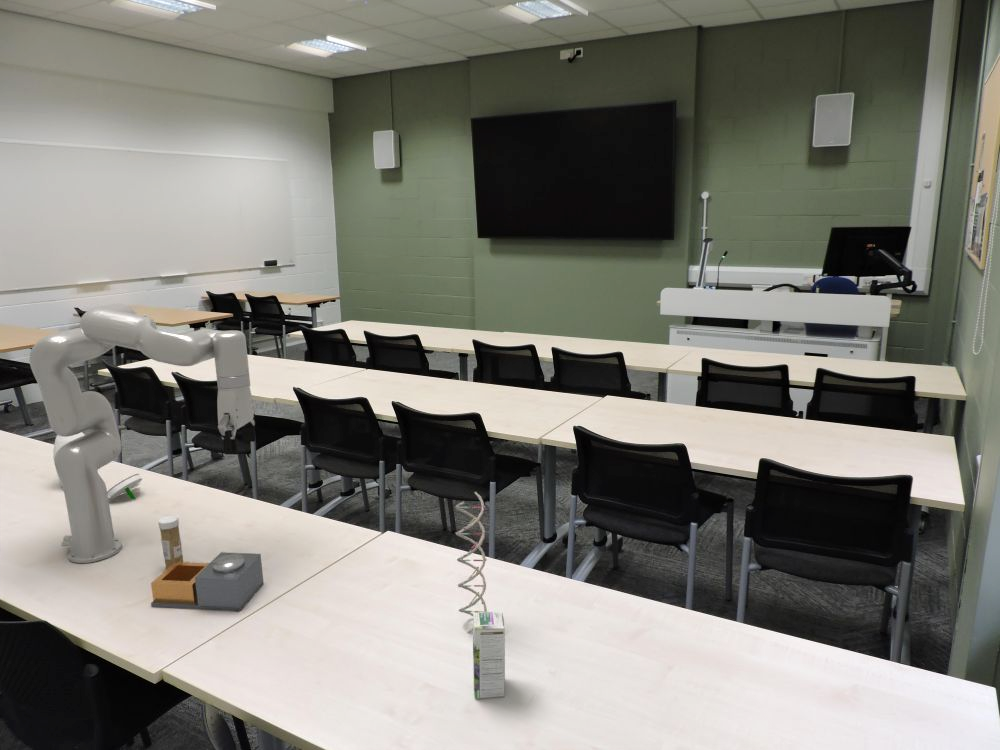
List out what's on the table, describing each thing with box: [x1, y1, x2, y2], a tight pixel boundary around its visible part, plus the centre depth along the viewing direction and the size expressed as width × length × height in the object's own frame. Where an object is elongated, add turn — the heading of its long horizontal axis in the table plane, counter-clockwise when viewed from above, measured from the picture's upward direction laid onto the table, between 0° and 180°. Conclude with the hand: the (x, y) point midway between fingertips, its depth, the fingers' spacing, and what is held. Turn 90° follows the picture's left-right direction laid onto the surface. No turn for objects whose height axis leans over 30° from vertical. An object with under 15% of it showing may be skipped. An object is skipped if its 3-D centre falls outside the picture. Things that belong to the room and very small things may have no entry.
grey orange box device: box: [150, 551, 265, 612], centre depth 165 cm, size 22×15×9 cm
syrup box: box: [472, 611, 506, 700], centre depth 130 cm, size 6×6×14 cm
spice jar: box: [158, 515, 184, 570], centre depth 177 cm, size 5×5×14 cm
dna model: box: [454, 491, 488, 634], centre depth 148 cm, size 7×6×30 cm
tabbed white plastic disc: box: [107, 473, 143, 500], centre depth 221 cm, size 15×8×11 cm
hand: (240, 447), depth 175 cm, fingers open, 9 cm apart
